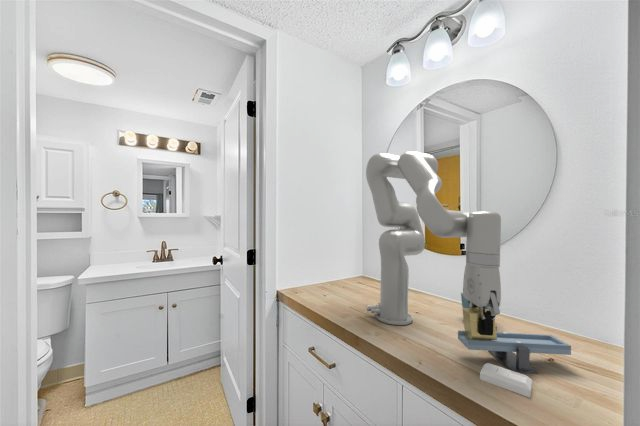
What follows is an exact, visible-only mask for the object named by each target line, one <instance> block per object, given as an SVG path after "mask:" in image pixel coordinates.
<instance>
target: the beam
mask: <svg viewBox="0 0 640 426" xmlns="http://www.w3.org/2000/svg"><path fill="white" fill-rule="evenodd" d="M502 332H503V333H502ZM502 332H501V331H496V334H497V340H470V339H469V338H468V337H467V336H466V335H465V330H460V329H459V330H457V339H458V341H460V342H461V344H463V346H464V347H466V348H467V349H468V350H469V351H470V350H472V351H487V352H488V351H506V352H513V353H516V347H527V348H528V349H530V354H544V355H545V354H548V355H564V356H565V355H566V356H571V355H572V346H571V344H569V343H568V342H565V341H564V340H561V339H559V338H557V337H556V336H554V335H553V334H543V333H541V334H538V333H522V332H521V333H518V332H517V333H516V332H506V331H502Z"/></svg>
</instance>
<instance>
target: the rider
mask: <svg viewBox="0 0 640 426" xmlns="http://www.w3.org/2000/svg"><path fill="white" fill-rule="evenodd" d="M486 311H489V309H485V312H486ZM462 316H463V318H462V319H463V326H464V327H463V328H464V331H465V335H466V336H467V337H468V338H469V339H470V340H497V334H496V332H497V328H496V327H497V325H496V319H495V320H493V335H492V336H490V335H480V334H479V318H481V312H480V307H474V308H463V307H462Z"/></svg>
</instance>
